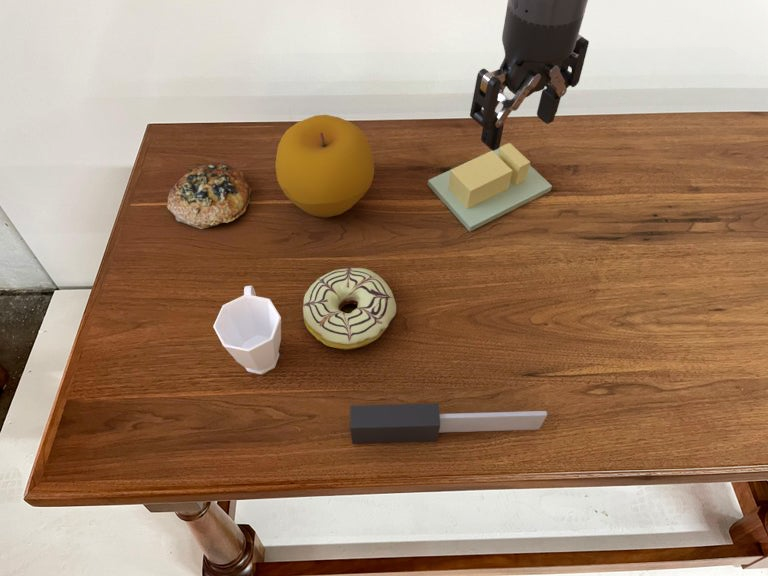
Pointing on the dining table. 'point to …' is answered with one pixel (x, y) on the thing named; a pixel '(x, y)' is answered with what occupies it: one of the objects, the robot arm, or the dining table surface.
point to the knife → (430, 422)
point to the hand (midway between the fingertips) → (518, 132)
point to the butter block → (480, 179)
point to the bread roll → (209, 196)
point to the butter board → (494, 205)
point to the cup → (250, 331)
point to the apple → (324, 165)
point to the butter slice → (514, 162)
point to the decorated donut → (346, 289)
